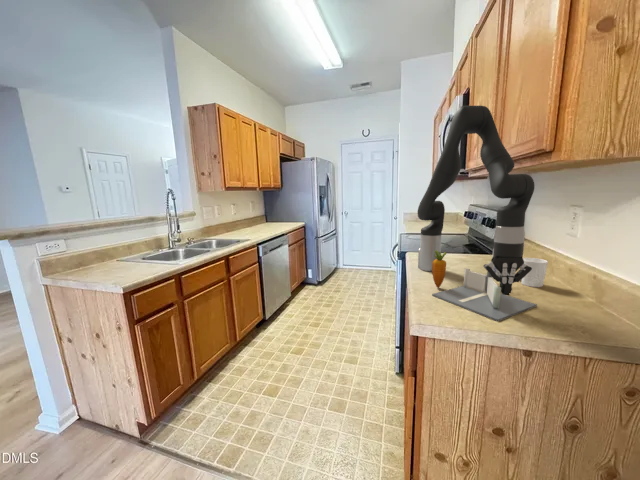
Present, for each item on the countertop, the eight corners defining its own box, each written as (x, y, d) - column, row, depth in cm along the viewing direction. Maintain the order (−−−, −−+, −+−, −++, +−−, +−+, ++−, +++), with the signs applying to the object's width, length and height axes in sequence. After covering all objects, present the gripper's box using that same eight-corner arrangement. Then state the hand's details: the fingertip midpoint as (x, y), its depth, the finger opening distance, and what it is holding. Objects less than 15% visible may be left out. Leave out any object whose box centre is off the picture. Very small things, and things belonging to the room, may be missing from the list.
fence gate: (485, 293, 94) (487, 275, 93) (491, 293, 94) (493, 275, 92) (493, 307, 82) (494, 287, 81) (499, 308, 82) (501, 288, 80)
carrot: (447, 288, 103) (449, 250, 100) (439, 290, 100) (441, 252, 98) (436, 284, 107) (438, 248, 105) (428, 287, 105) (430, 250, 102)
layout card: (432, 295, 96) (432, 293, 96) (469, 285, 105) (469, 283, 105) (497, 321, 76) (497, 319, 76) (536, 306, 85) (536, 304, 85)
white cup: (514, 282, 107) (517, 258, 105) (528, 280, 109) (531, 256, 107) (535, 289, 99) (538, 263, 98) (549, 286, 102) (552, 261, 100)
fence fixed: (462, 286, 103) (463, 266, 102) (465, 285, 104) (466, 266, 103) (488, 294, 94) (490, 273, 93) (491, 293, 95) (493, 272, 93)
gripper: (527, 238, 83) (523, 291, 86) (480, 238, 86) (478, 289, 89) (540, 242, 76) (535, 299, 78) (488, 242, 79) (485, 297, 82)
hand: (505, 293), depth 84 cm, fingers closed
